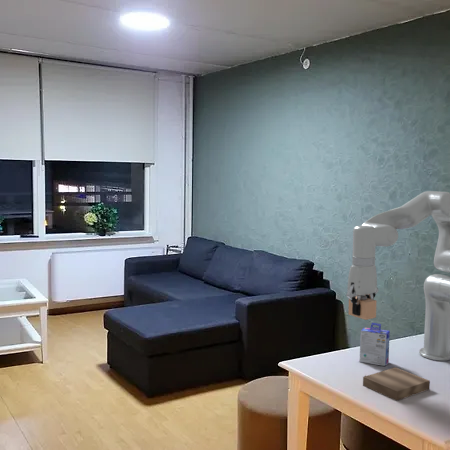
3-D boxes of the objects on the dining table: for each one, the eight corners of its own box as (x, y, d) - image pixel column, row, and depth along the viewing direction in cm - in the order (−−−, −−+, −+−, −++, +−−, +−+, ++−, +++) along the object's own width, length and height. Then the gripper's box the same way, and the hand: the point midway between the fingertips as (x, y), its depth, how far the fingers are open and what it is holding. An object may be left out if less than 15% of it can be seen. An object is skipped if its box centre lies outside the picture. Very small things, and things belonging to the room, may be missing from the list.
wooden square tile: (395, 375, 191) (395, 367, 190) (429, 389, 179) (429, 380, 179) (362, 385, 182) (363, 376, 182) (396, 400, 170) (397, 391, 170)
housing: (358, 312, 193) (359, 293, 193) (375, 317, 187) (376, 297, 186) (348, 314, 191) (348, 294, 190) (365, 319, 184) (366, 299, 183)
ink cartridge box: (389, 362, 204) (390, 324, 202) (386, 366, 199) (387, 328, 197) (362, 357, 208) (364, 320, 207) (359, 362, 204) (360, 324, 202)
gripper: (372, 257, 194) (370, 307, 196) (337, 262, 185) (336, 314, 187) (389, 261, 188) (387, 312, 190) (354, 266, 179) (352, 320, 181)
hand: (362, 313), depth 189 cm, fingers closed on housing, 5 cm apart
